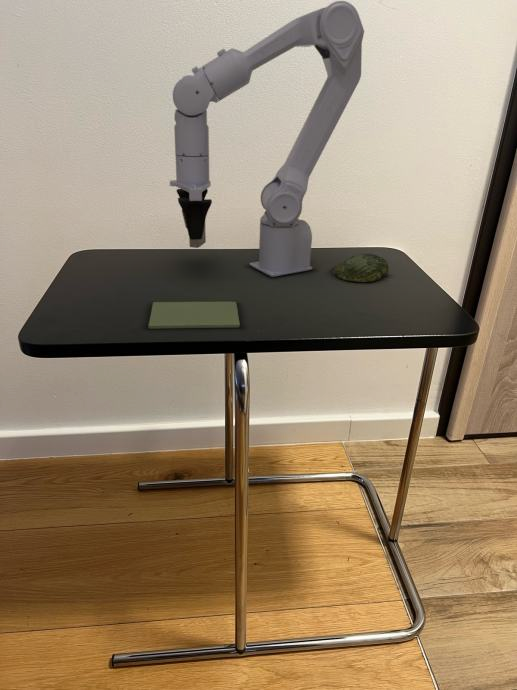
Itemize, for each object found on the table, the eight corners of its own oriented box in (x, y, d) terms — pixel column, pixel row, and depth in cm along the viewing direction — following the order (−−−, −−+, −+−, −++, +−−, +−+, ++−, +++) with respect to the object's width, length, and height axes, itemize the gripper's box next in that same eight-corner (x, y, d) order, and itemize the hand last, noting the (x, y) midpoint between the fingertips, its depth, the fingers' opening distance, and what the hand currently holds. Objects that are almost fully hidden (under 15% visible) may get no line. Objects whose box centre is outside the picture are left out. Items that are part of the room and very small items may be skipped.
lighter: (197, 241, 103) (196, 198, 99) (205, 242, 102) (205, 199, 99) (182, 251, 96) (181, 206, 93) (192, 252, 96) (190, 206, 93)
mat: (236, 304, 86) (236, 301, 86) (239, 327, 78) (239, 324, 78) (153, 305, 85) (153, 302, 85) (148, 328, 77) (148, 325, 77)
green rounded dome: (337, 243, 105) (390, 248, 103) (335, 263, 107) (387, 268, 105) (333, 262, 96) (390, 267, 95) (331, 283, 98) (387, 289, 97)
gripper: (167, 149, 98) (171, 224, 104) (169, 160, 85) (173, 244, 91) (206, 149, 99) (207, 223, 105) (214, 160, 86) (214, 244, 92)
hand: (194, 233), depth 98 cm, fingers closed on lighter, 7 cm apart
